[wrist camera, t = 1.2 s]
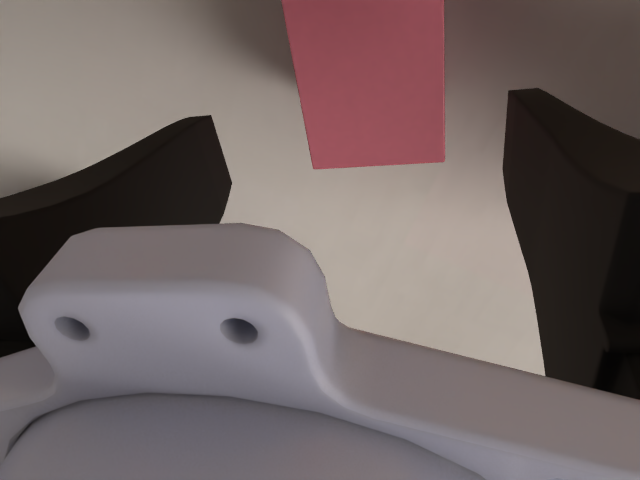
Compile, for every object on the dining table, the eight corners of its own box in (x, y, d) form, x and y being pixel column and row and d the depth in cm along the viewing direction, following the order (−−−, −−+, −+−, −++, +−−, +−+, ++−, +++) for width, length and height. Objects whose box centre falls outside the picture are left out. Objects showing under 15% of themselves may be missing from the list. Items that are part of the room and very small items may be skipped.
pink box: (440, 94, 21) (444, 162, 17) (333, 103, 22) (312, 170, 18) (438, -73, 17) (444, -39, 13) (310, -54, 18) (277, -15, 14)
